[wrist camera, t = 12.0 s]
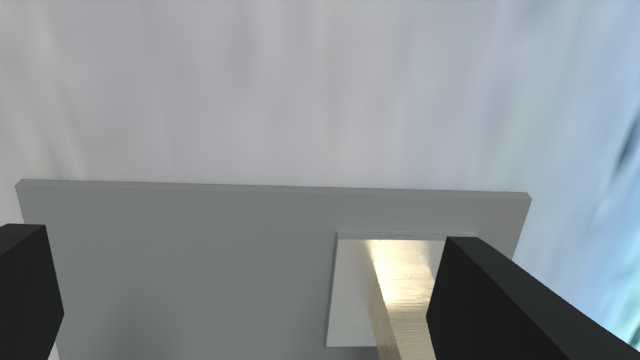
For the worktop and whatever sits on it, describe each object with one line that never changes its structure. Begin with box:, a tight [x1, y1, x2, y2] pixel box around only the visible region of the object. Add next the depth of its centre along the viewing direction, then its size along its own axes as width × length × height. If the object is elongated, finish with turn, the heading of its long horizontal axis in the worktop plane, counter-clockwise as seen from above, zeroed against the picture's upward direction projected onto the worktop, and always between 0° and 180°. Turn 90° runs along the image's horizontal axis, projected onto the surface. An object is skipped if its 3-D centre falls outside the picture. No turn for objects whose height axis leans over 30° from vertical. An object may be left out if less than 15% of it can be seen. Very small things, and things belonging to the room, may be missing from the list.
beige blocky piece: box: [325, 231, 480, 360], centre depth 18 cm, size 6×6×6 cm
